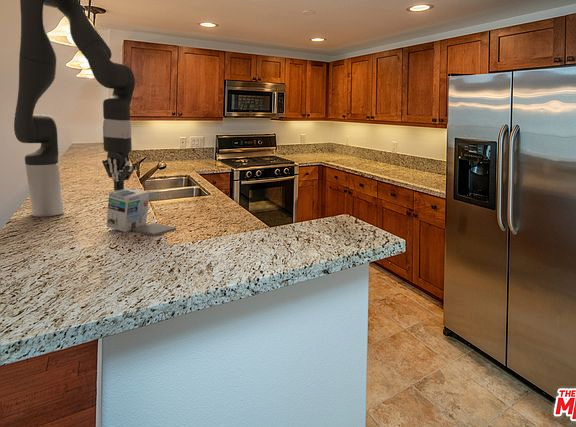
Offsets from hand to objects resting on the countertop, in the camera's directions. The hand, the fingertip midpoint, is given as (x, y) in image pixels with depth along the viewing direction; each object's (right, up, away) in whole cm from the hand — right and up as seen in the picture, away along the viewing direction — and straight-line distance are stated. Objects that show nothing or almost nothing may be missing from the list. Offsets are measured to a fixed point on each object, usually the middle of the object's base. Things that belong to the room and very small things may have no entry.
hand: (119, 193), depth 112 cm
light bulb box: (+2, -10, 0) cm, 10 cm away
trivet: (+12, -11, -3) cm, 17 cm away
